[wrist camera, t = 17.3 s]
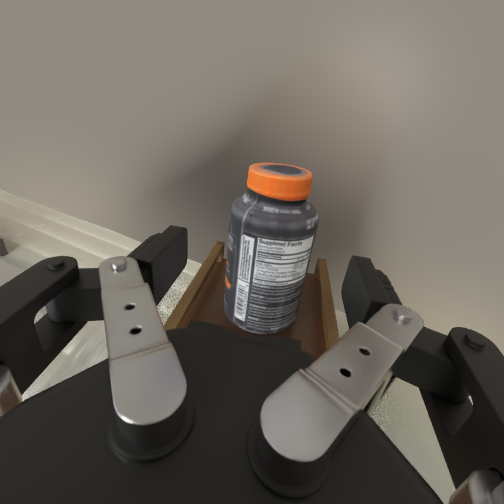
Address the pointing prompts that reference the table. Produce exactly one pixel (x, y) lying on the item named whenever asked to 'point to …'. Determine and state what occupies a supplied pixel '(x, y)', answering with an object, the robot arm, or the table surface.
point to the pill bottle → (269, 248)
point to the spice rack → (303, 328)
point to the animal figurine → (2, 248)
